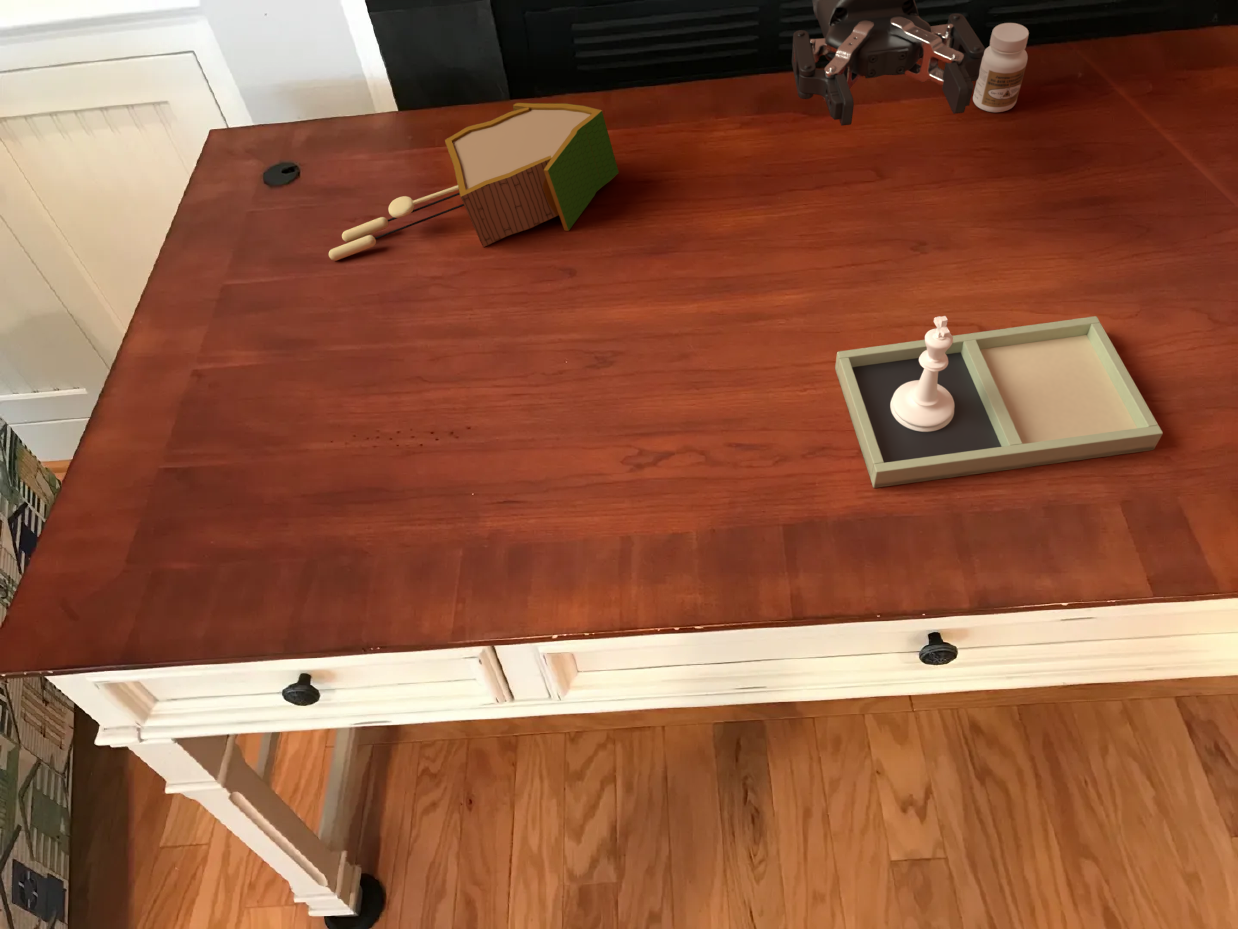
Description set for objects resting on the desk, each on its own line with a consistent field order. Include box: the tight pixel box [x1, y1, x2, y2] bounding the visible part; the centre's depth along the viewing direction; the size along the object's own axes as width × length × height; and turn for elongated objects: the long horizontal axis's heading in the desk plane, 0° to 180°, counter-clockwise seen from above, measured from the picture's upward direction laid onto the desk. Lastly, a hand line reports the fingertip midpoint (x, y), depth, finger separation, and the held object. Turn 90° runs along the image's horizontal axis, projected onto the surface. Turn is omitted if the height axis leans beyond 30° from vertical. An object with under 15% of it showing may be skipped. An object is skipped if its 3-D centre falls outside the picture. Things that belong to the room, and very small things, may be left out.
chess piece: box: [890, 315, 954, 432], centre depth 74 cm, size 5×5×10 cm
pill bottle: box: [972, 22, 1030, 113], centre depth 100 cm, size 4×4×8 cm
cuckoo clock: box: [328, 102, 620, 262], centre depth 97 cm, size 12×8×30 cm
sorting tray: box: [834, 315, 1164, 489], centre depth 78 cm, size 22×13×2 cm, turn 95°
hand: (905, 108), depth 74 cm, fingers open, 8 cm apart
